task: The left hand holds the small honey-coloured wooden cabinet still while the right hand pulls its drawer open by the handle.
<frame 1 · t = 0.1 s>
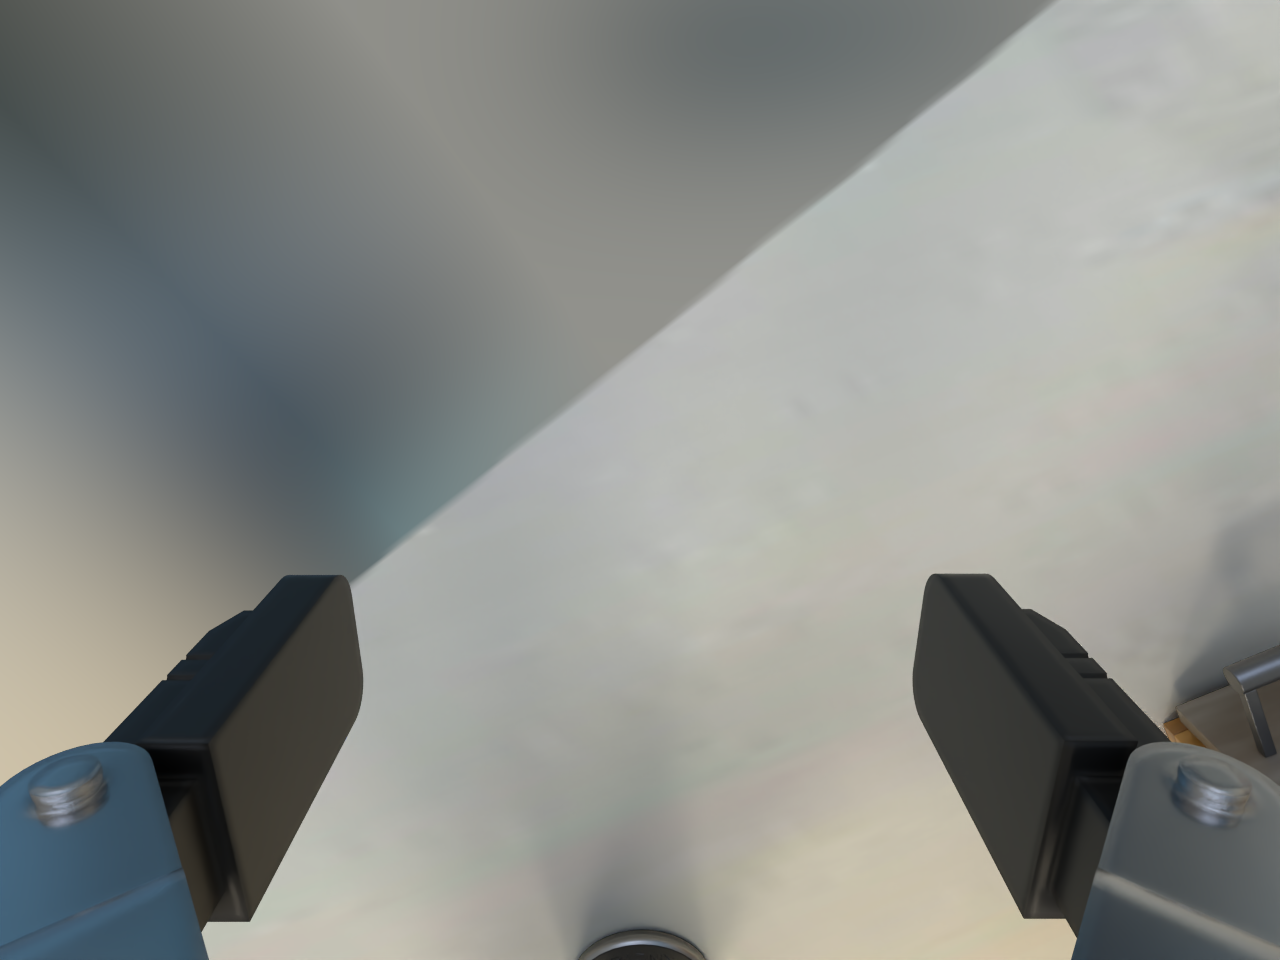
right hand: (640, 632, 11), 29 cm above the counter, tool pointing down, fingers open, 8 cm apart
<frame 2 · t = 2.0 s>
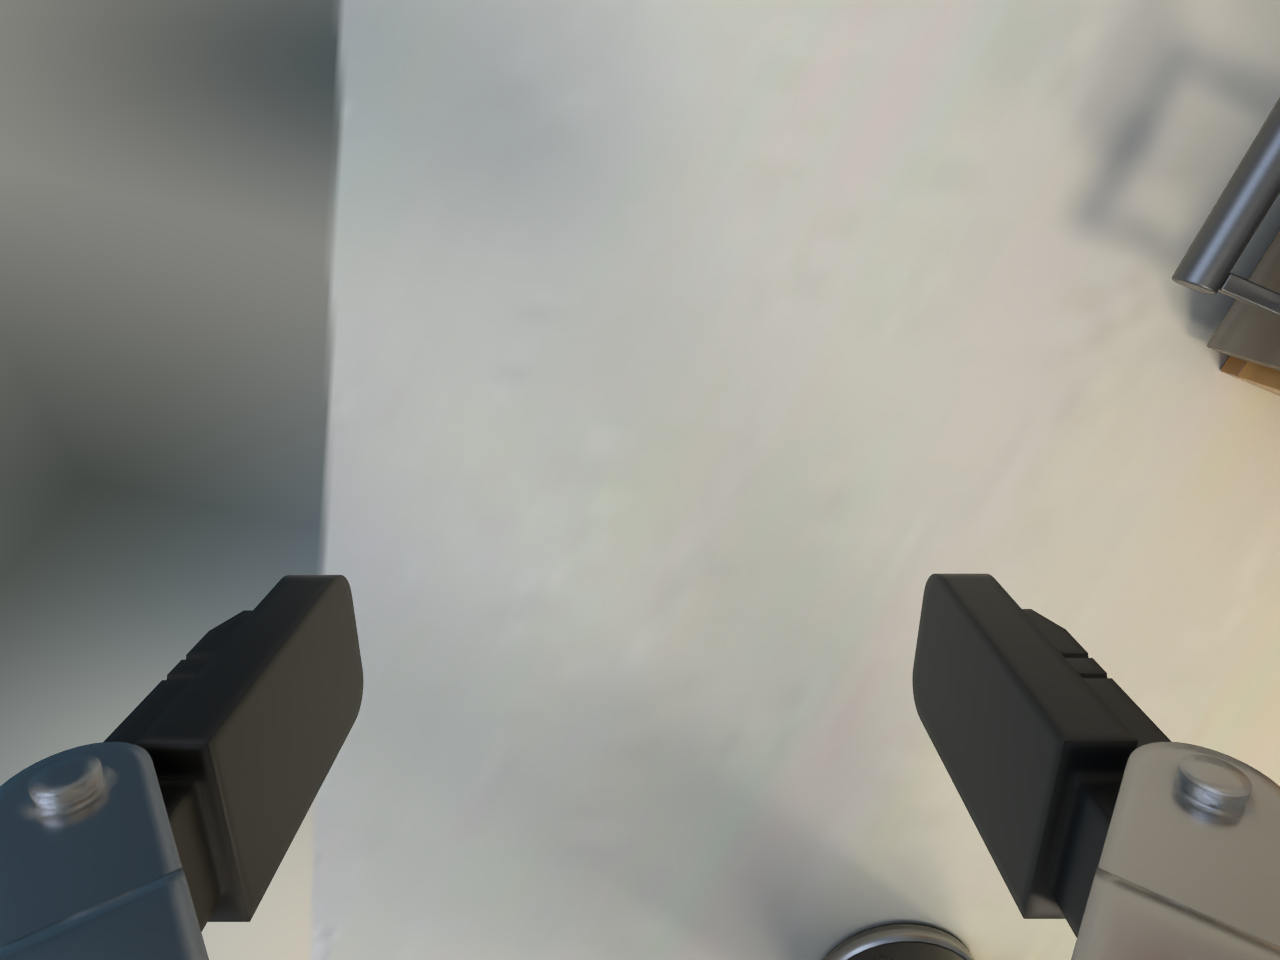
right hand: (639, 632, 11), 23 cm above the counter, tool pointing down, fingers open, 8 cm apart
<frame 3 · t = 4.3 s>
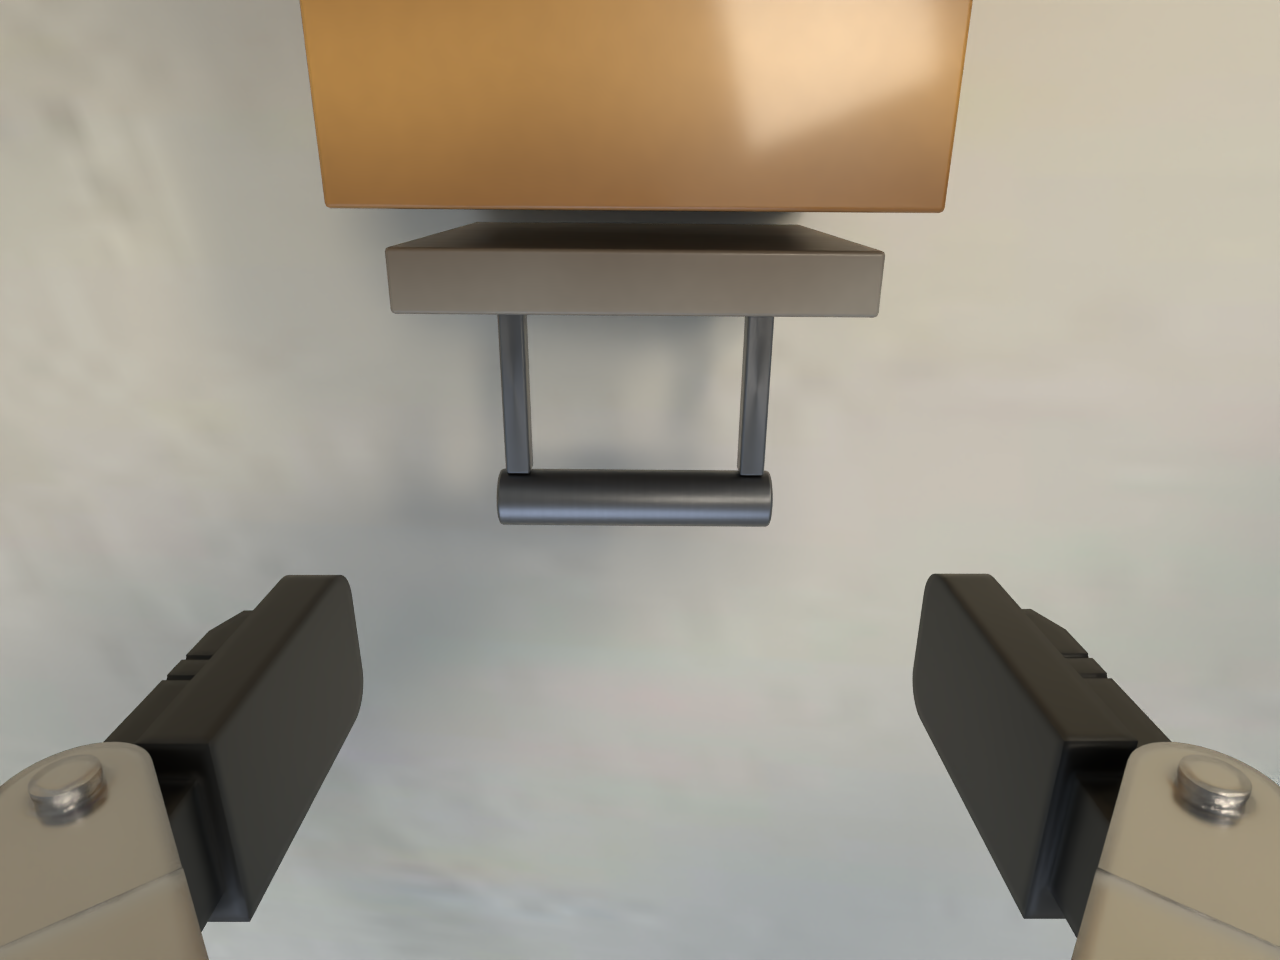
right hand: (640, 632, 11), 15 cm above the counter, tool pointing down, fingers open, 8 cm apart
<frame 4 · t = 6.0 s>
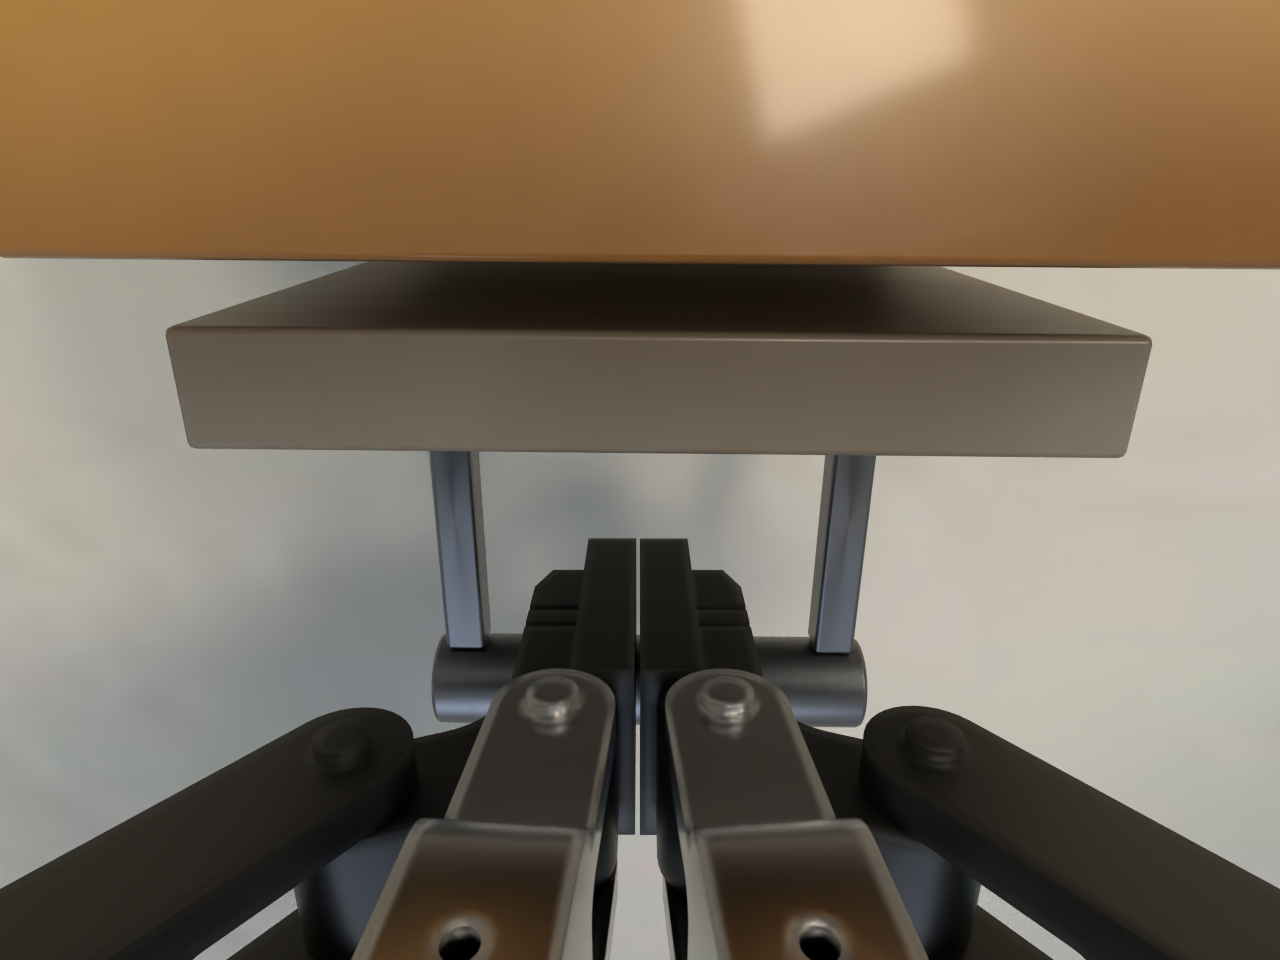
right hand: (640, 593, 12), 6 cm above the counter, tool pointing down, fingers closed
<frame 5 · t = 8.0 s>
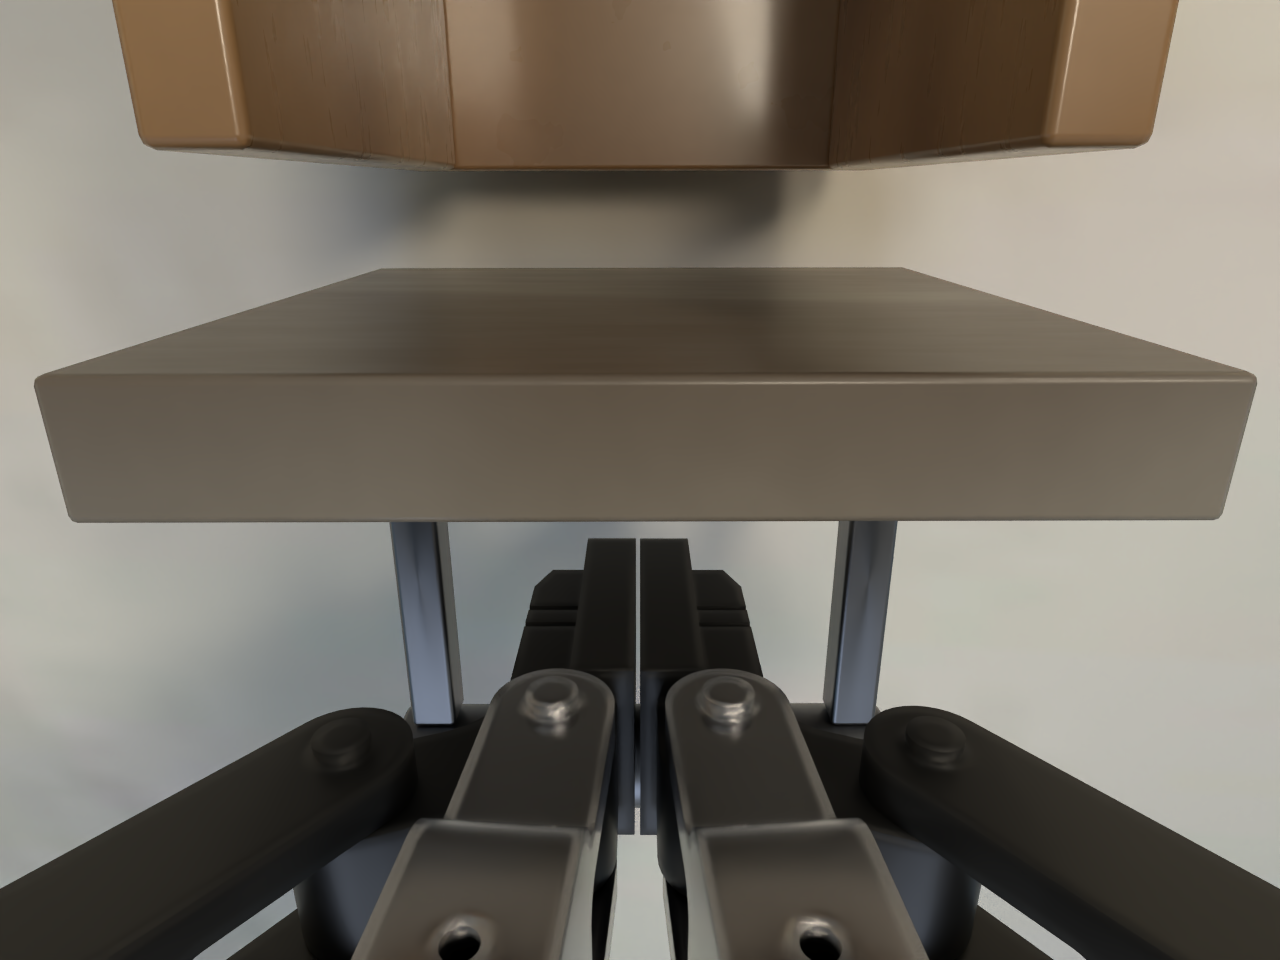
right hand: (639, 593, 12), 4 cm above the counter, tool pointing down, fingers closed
when the left hand's fingers open (6 cm above the counter, at t = 9.7 s): cabinet stays where it is, on the counter.
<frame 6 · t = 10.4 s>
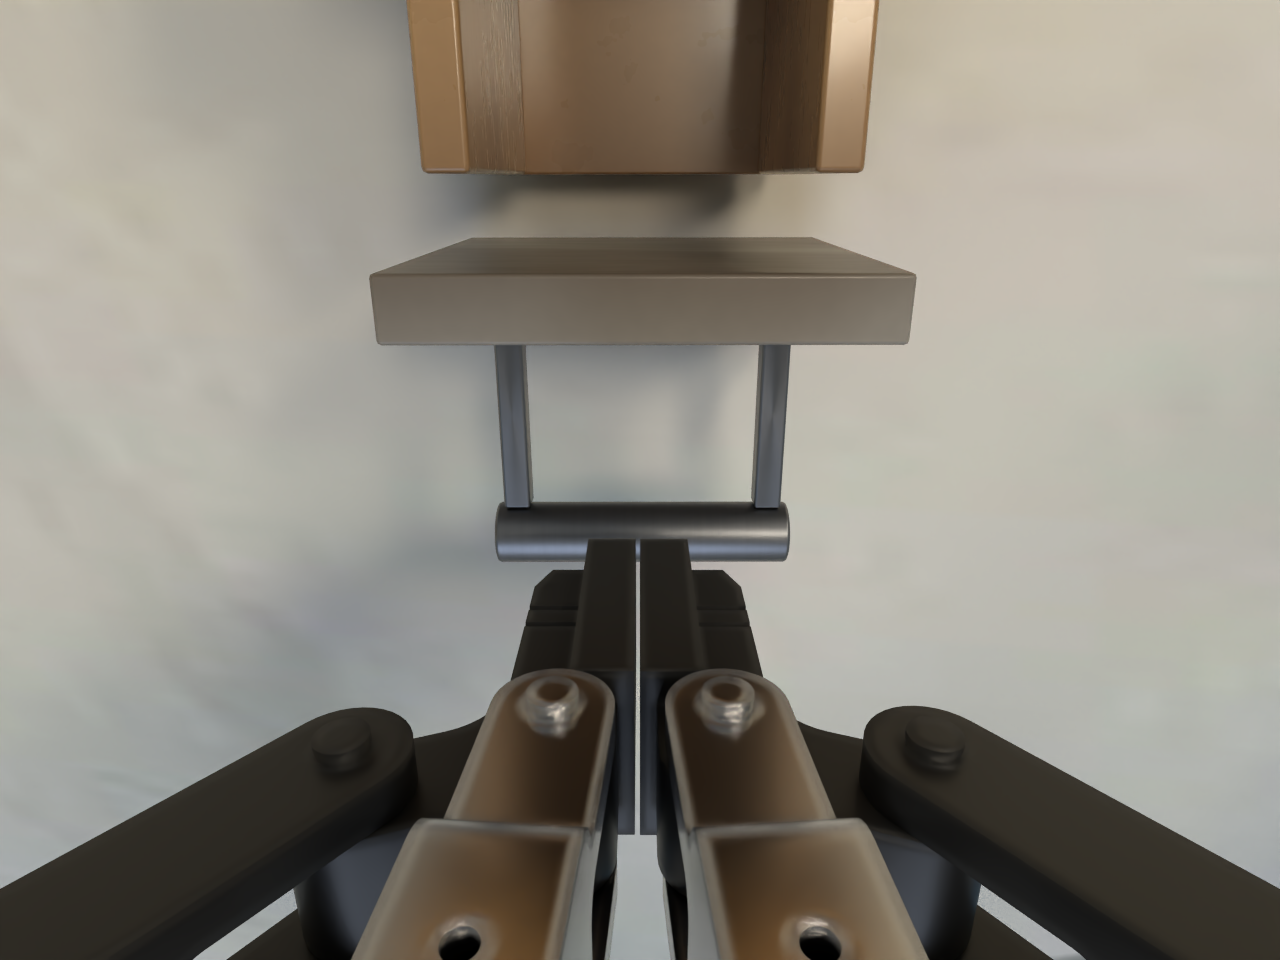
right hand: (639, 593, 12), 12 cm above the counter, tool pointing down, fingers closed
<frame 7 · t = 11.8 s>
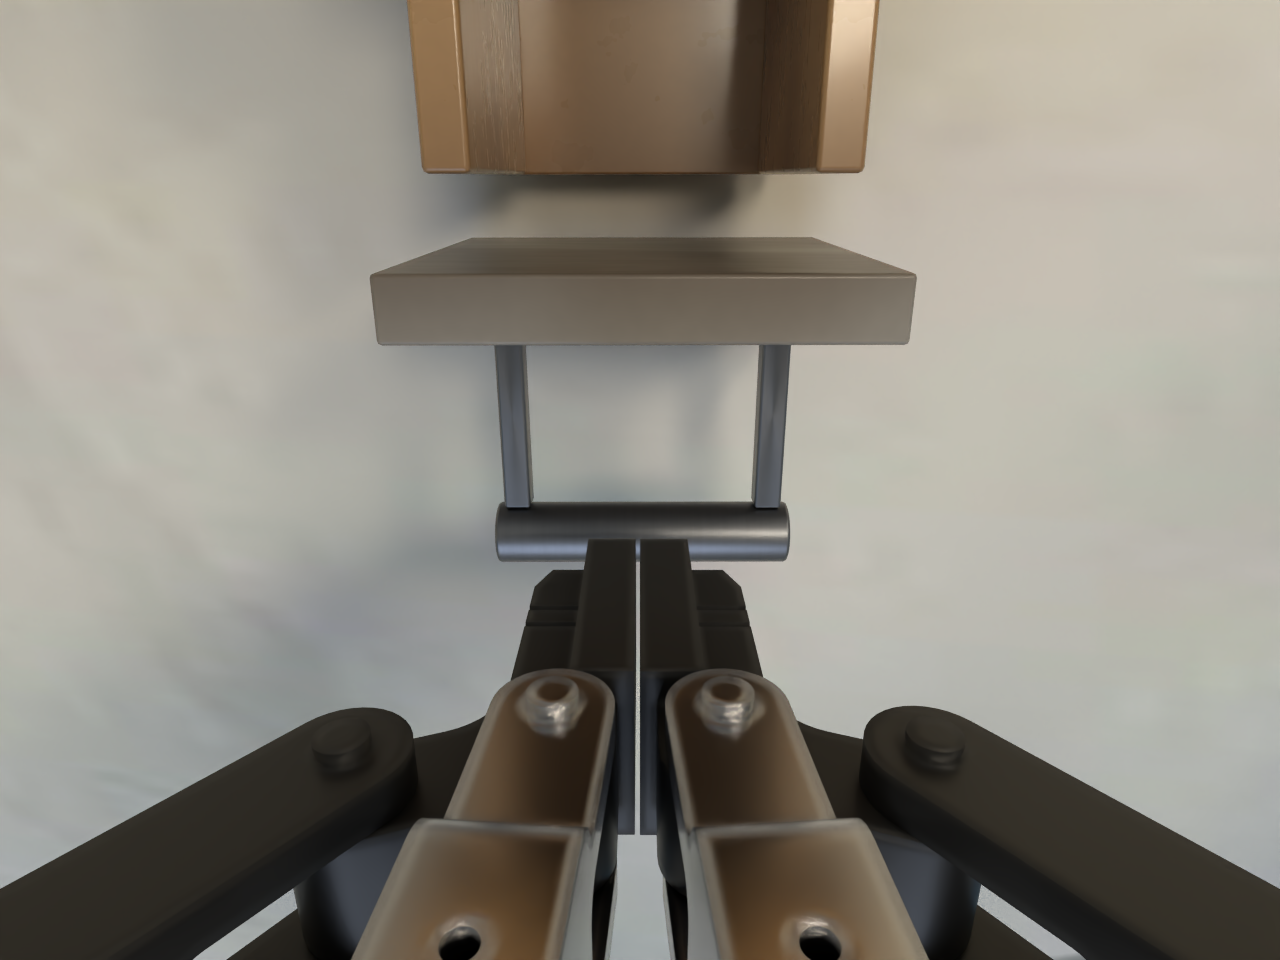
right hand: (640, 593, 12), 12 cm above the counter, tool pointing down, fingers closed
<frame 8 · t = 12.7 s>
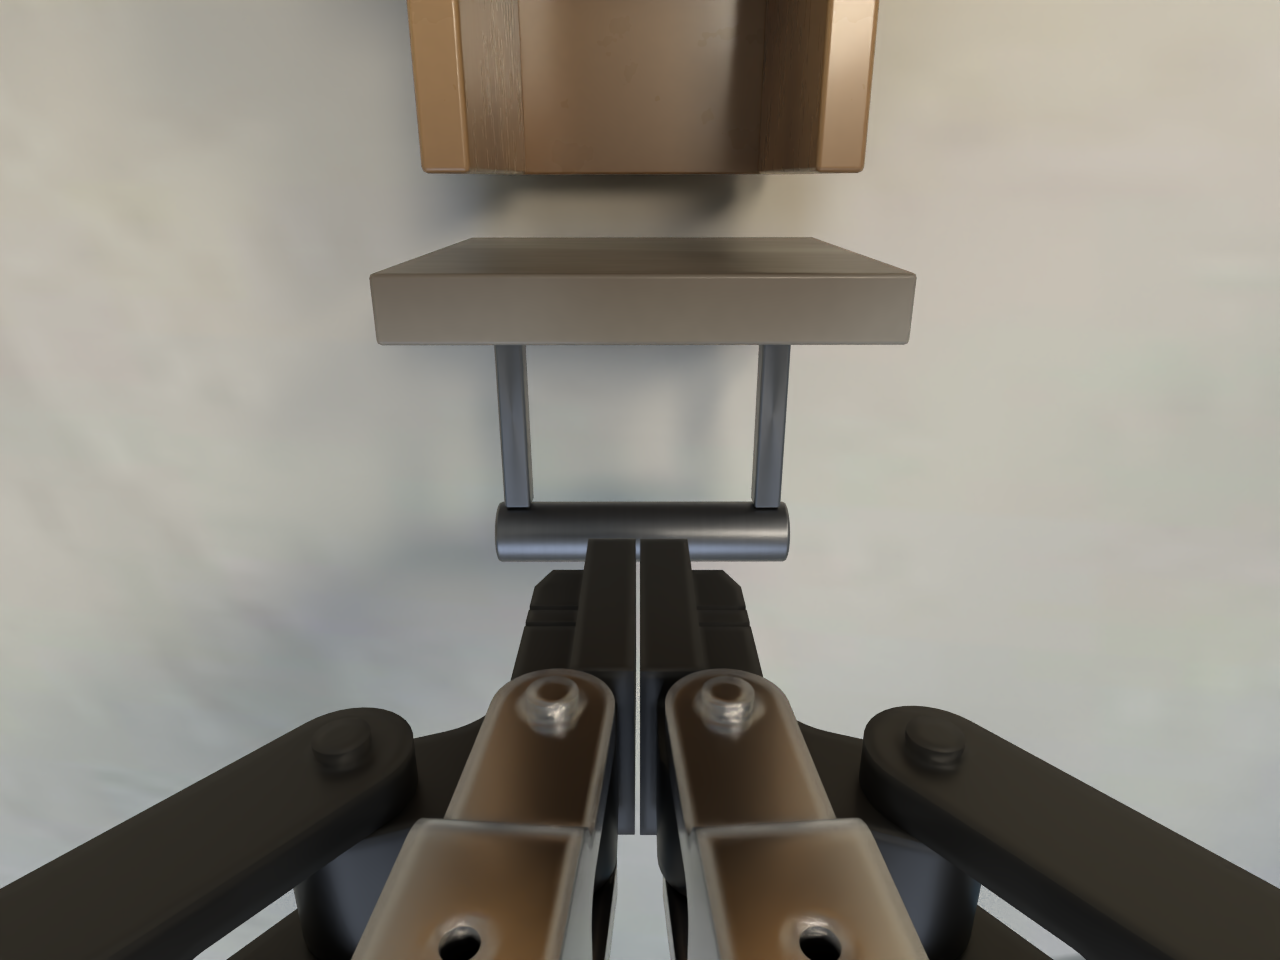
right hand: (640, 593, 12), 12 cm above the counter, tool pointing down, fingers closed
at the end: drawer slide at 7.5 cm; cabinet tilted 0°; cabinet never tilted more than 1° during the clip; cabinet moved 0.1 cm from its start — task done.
